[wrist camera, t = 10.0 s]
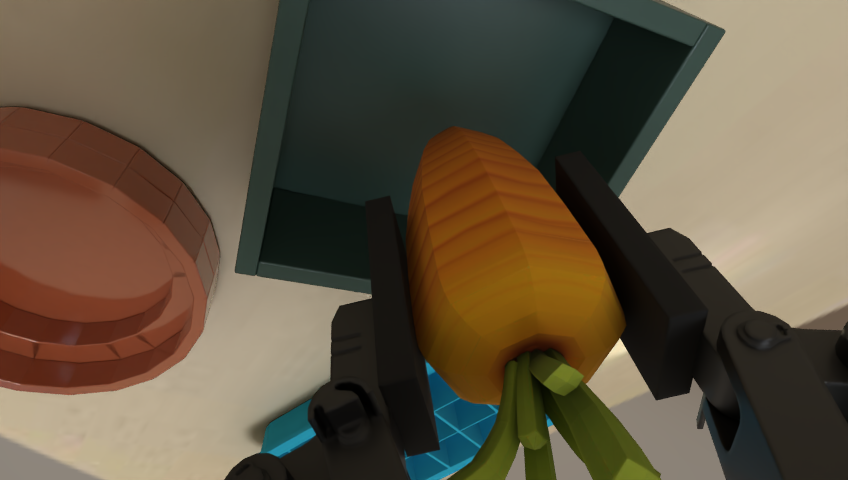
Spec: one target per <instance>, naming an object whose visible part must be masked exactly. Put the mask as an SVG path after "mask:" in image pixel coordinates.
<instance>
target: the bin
mask: <svg viewBox="0 0 848 480" xmlns="http://www.w3.org/2000/svg"><path fill="white" fill-rule="evenodd" d="M724 34H725V30H724V29H723V28H720V27H718V26H716V25H714V24H712V23H709V22H707V21H705V20H703V19H701V18H699V17H696V16H694V15H692V14H690V13H688V12H685V11H683V10H681V9H679V8H677V7H675V6H672V5H670V4H668V3H666V2H664V1H661V0H279V6H278V12H277V18H276V24H275V30H274V36H273V42H272V48H271V55H270V61H269V67H268V73H267V79H266V85H265V91H264V97H263V103H262V109H261V115H260V121H259V127H258V133H257V139H256V145H255V151H254V157H253V163H252V169H251V175H250V181H249V187H248V193H247V199H246V206H245V212H244V218H243V224H242V230H241V236H240V242H239V248H238V254H237V260H236V266H235V273H239V274H246V275H252V276H255V275H257V276H260V277H266V278H272V279H279V280H285V281H291V282H298V283H304V284H310V285H317V286H323V287H329V288H336V289H342V290H348V291H355V292H361V293H367V294H372V292H371V278H370V264H369V250H368V236H367V222H366V208H365V201H368V200H373V199H377V198H381V197H385V196H390V197H391V201H392V204H393V208H394V211H395V215H396V219H397V222H398V226H399V229H400V233H401V237H402V240H403V244H404V247H405V251H406V230H407V220H408V210H409V204H410V198H411V192H412V186H413V183H414V179H415V176H416V173H417V170H418V167H419V163H420V160H421V157H422V154H423V151H424V149H425V147H426V145H427V143H428V142H429V140H430V139H431V138H433V137H434V136H435V135H437V134H438V133H440V132H442V131H443V130H445V129H447V128H449V127H452V126H456V127H461V128H465V129H470V130H474V131H479V132H482V133H485V134H488V135H491V136H494V137H497V138H499V139H500V140H502V141H503V142H505V143H506V144H507V145H509V146H510V147H511V148H513V149H514V150H515V151H517V152H518V153H519V154H520V155H522V156H523V157H524V158H525V159H526V160H527V161H528V162H530V163H531V164H532V165H533V166H534V167H535V168H536V169H538V170H539V172H540V173H541V174H542V175H543V177H544V178H545V179H546V181H547V182H548V183H549V184H550V186H551V187H552V188H553V190H554V191H555V192H556V175H555V157H556V156H560V155H564V154H568V153H573V152H577V151H581V152H582V154H583V155H584V156H585V157H586V159H587V160H588V161H589V162H590V163H591V165H592V166H593V167H594V168H595V170H596V171H597V172H598V173H599V175H600V176H601V177H602V178H603V180H604V181H605V182H606V183H607V185H608V186H609V187H610V188H611V189H612V191H613V192H614V193H615V194H616V196H617V197H619V196H620V194H621V193H622V191H623V190H624V188H625V186H626V185H627V183H628V182H629V180H630V179H631V177H632V176H633V174H634V173H635V171H636V169H637V168H638V166H639V165H640V163H641V162H642V160H643V159H644V157H645V156H646V154H647V152H648V151H649V149H650V148H651V146H652V145H653V143H654V142H655V140H656V139H657V137H658V135H659V134H660V132H661V131H662V129H663V128H664V126H665V125H666V123H667V122H668V120H669V118H670V117H671V115H672V114H673V112H674V111H675V109H676V108H677V106H678V105H679V103H680V102H681V100H682V98H683V97H684V95H685V94H686V92H687V91H688V89H689V88H690V86H691V85H692V83H693V81H694V80H695V78H696V77H697V75H698V74H699V72H700V71H701V69H702V68H703V66H704V64H705V63H706V61H707V60H708V58H709V57H710V55H711V54H712V52H713V51H714V49H715V47H716V46H717V44H718V43H719V41H720V40H721V38H722V37H723V35H724ZM406 255H407V252H406Z"/></svg>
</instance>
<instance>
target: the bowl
mask: <svg viewBox="0 0 848 480" xmlns="http://www.w3.org/2000/svg"><path fill="white" fill-rule="evenodd" d="M219 261H220V253H219V249H218V246H217V242H216V239H215V235H214V232H213V228H212V225H211V221H210V220H209V218H208V216H207V215H206V214H205V212H204V211H203V209H202V208H201V207H200V205H199V204H198V202H197V201H196V200H195V198H194V197H193V195H192V194H191V193H190V191H189V190H188V188H187V187H186V186H185V184H184V183H182V181H181V180H180V179H178V178H177V177H176V176H175V175H173V174H172V173H171V172H170V171H168V170H167V169H166V168H165V167H163V166H162V165H161V164H160V163H158V162H157V161H156V160H155V159H153V158H152V157H151V156H150V155H148V154H147V153H146V152H145V151H144V150H142V149H140V148H139V147H138V146H136V145H134V144H131V143H129V142H127V141H125V140H123V139H121V138H119V137H117V136H115V135H113V134H110V133H108V132H106V131H104V130H102V129H100V128H98V127H96V126H94V125H92V124H90V123H87V122H85V121H84V122H83V121H82V120H78V119H73V118H69V117H65V116H60V115H56V114H51V113H47V112H42V111H38V110H33V109H29V108H24V107H0V387H4V388H8V389H12V390H16V391H18V390H19V391H26V392H38V393H50V394H62V395H75V394H86V393H97V392H107V391H117V390H120V389H123V388H126V387H129V386H133V385H136V384H139V383H142V382H145V381H148V380H152V379H154V378H156V377H157V376H159V375H160V374H162V373H163V372H165V371H166V370H168V369H169V368H171V367H172V366H174V365H175V364H177V363H178V362H180V361H181V360H183V359H184V358H185V357H186V356H187V354H188V353H189V351H190V350H191V348H192V347H193V345H194V344H195V343H196V341H197V340H198V338H199V337H200V335H201V334H202V332H203V330H204V327H205V323H206V320H207V316H208V313H209V309H210V305H211V302H212V298H213V295H214V291H215V288H216V282H217V275H218V268H219Z"/></svg>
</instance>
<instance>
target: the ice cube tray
mask: <svg viewBox="0 0 848 480" xmlns="http://www.w3.org/2000/svg"><path fill="white" fill-rule="evenodd" d="M425 362H426V367H427V373H428V379H429V385H430V391H431V397H432V403H433V409H434V415H435V421H436V427H437V433H438V439H439V445H440V450H437V451H433V452H428V453H424V454H419V455H415V456H411V457H407V455H406V452H405V450H404V452H405V461H406V469H407V471H408V474H409V476H410V478H411V480H440V479H442V478H444V477H446V476H448V475H450V474H452V473H454V472H456V471H458V470H460V469H462V468H463V467H464V466H466V465H467V464H468V463H470V462H471V461H472V459H473V458H474V456H475V455H476V454H477V452H478V451H479V449H480V448H481V446H482V445H483V443H484V442H485V440H486V438H487V436H488V434H489V433H490V431H491V429H492V427H493V425H494V423H495V420H496V417H497V413H498V409H499V405H490V404H475V403H471V402H468V401H466V400H463V399H460V397H459V396H458V395H457V394H456V393H455V392H454V391H453V390H452V389H451V388H450V386H449V385H448V384H447V383H446V382H445V381H444V380H443V379H442V378H441V377H440V375H439V374H438V373H437V372H436V371H435V370H434V369H433V368H432V367H431V366H430V364H429V363H428V362H427V361H426V360H425ZM310 402H311V399H310V400H308V401H306V402H305V403H303V404H301V405H300V406H298V407H296V408H294V409H293V410H291V411H289V412H288V413H286V414H284V415H282V416H281V417H279V418H277V419H276V420H274V421H272V422H271V423H270V424H269V425H268V426H267V428H266V431H265V436H264V440H263V445H262V449H261V452H260V453H270V454H272V455H275V456H277V457H279V458H281V457H283V456H285V455H286V454H288V453H290V452H292V451H294V450H295V449H297V448H299V447H301V446H302V445H304V444H305V443H307V442H308V441H310V440H311V439H312V438H313V437H314V436H315V435H316V433H315V432H314V430H313V428H312V427H311V425H310V423H309V422H308V406H309V404H310ZM546 419H547V425H548V427H549V426H551V425H553V423H552V422H551V420H550V419H549V417H548V416H547V414H546Z"/></svg>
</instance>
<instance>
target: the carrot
mask: <svg viewBox="0 0 848 480" xmlns="http://www.w3.org/2000/svg"><path fill="white" fill-rule="evenodd" d="M406 252H407V265H408V279H409V288H410V297H411V305H412V313H413V320H414V326H415V333H416V339H417V344H418V347H419V349H420V351H421V353H422V354H423V356H424V358H425V360H426V361H427V362H428V363H429V364H430V366H431V367H432V368H433V369H434V370H435V371H436V372H437V373H438V374H439V375H440V377H441V378H442V379H443V380H444V381H445V382H446V383H447V384H448V385H449V386H450V388H451V389H452V390H453V391H454V392H455V393H456V394H457V395H458V396H459V397H460V399H463V400H466V401H468V402H471V403H475V404H490V405H499V409H498V413H497V417H496V420H495V423H494V425H493V427H492V429H491V431H490V433H489V434H488V436H487V438H486V440H485V442H484V443H483V445H482V446H481V448H480V449H479V451H478V452H477V454H476V455H475V456H474V458H473V459H472V461H471V462H470V463H468V464H467V465H466V466H464V467H463V468H462V469H460V470H459V471H458V472H456V473H455V474H454V475H452V476H451V477H450V478H448V479H447V480H505V478H506V476H507V474H508V471H509V470H510V467H511V465H512V463H513V461H514V459H515V456H516V453H517V450H518V447H519V444H520V442H521V443H522V445H523V446H524V456H525V474H526V480H556V474H555V468H554V461H553V455H552V449H551V443H550V437H549V431H548V425H547V419H546V414H547V416H548V417H549V419H550V420H551V422H552V423H553V424H554V426H555V427H556V429H557V430H558V432H559V433H560V434H561V435H562V437H563V438H564V439H565V441H566V442H567V443H568V445H569V446H570V447H571V449H572V450H573V451H574V452H575V454H576V455H577V456H578V457H579V458H580V459H581V460H582V461H583V462H584V463H585V465H586V466H587V469H588V471H589V473H590V475H591V477H592V479H593V480H661V479H660V475H661V474H660V473H659V472H658V471H656V470H655V469H654V468H653V466H652V465H651V463H650V462H649V460H648V458H647V457H646V455H645V454H644V452H643V451H642V449H641V448H640V447H639V445H638V444H637V443H636V441H635V440H634V439H633V438H632V436H631V435H630V434H629V433H628V431H627V430H626V429H625V427H624V426H623V425H622V424H621V422H620V421H619V420H618V419H617V418H616V416H615V415H614V414H613V413H612V412H611V411H610V410H609V409H608V408H607V407H606V406H605V404H604V403H603V402H602V401H601V400H600V399H599V398H598V397H597V396H596V395H595V394H594V393H593V392H592V391H591V389H590V388H589V387H588V386H587V385H586V383H588V381H589V380H590V379H591V377H592V376H593V375H594V373H595V372H596V370H597V369H598V368H599V366H600V365H601V363H602V362H603V361H604V359H605V358H606V357H607V355H608V354H609V352H610V351H611V350H612V348H613V347H614V346H615V344H616V343H617V341H618V340H619V338H620V336H621V335H622V333H623V331H624V329H625V327H626V326H627V325H626V320H625V315H624V311H623V309H622V307H621V304H620V302H619V300H618V297H617V295H616V293H615V290H614V288H613V285H612V283H611V281H610V278H609V276H608V274H607V271H606V269H605V267H604V264H603V262H602V260H601V258H600V256H599V254H598V252H597V249H596V248H595V246H594V245H593V244H592V242H591V241H590V239H589V238H588V237H587V235H586V234H585V232H584V231H583V229H582V228H581V227H580V225H579V224H578V222H577V221H576V219H575V218H574V217H573V215H572V214H571V212H570V211H569V209H568V208H567V207H566V205H565V204H564V203H563V201H562V200H561V199H560V197H559V196H558V195H557V193H556V192H555V191H554V190H553V188H552V187H551V186H550V184H549V183H548V182H547V181H546V179H545V178H544V177H543V175H542V174H541V173H540V172H539V170H538V169H536V168H535V167H534V166H533V165H532V164H531V163H530V162H528V161H527V160H526V159H525V158H524V157H523V156H522V155H520V154H519V153H518V152H517V151H515V150H514V149H513V148H511V147H510V146H509V145H507V144H506V143H505V142H503V141H502V140H500V139H499V138H497V137H494V136H491V135H488V134H485V133H482V132H479V131H474V130H470V129H465V128H461V127H456V126H452V127H449V128H447V129H445V130H443V131H442V132H440V133H438V134H437V135H435V136H434V137H433V138H431V139H430V140H429V142H428V143H427V145H426V147H425V149H424V151H423V154H422V157H421V160H420V163H419V167H418V170H417V173H416V176H415V179H414V183H413V186H412V192H411V198H410V204H409V210H408V220H407V230H406Z"/></svg>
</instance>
